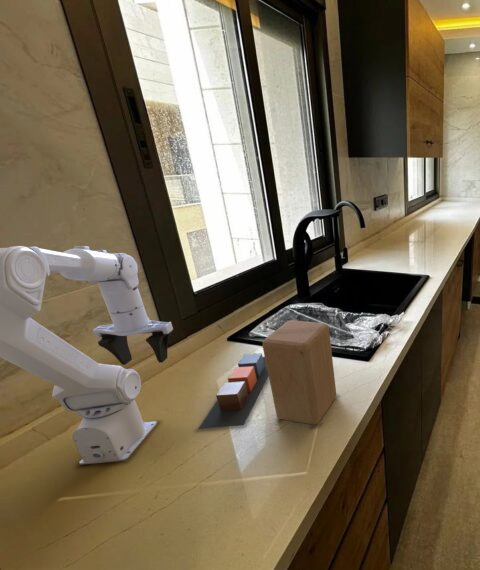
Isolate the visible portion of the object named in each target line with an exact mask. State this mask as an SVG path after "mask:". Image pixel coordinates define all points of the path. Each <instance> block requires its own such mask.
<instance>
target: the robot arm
mask: <svg viewBox="0 0 480 570" xmlns="http://www.w3.org/2000/svg"><path fill="white" fill-rule="evenodd" d="M138 270H139V267H138V262H137V261H136V260H135V258H134V257H133V256H131V255H129V254H127V253H125V252H117V253H116V252H115V253H110V252H108V251H107V250H106V249H96V250H91V249H90V246H86V245H74V248H69V249H66V250H64V251H62V252H61V251H56V250H51V249H45V248H40V247H38V246H23V245H14V246H9V247H0V359H2V360H5V361H7V362H8V363H10V364H13V365H14V366H16V367H19V368H20V369H22V370H24V371H26V372H28V373H30V374H32V375H34V376H36V377H38V378H40V379H41V380H44V381H46V382H48V383H50V384H52V385H54V386H53V387H52V394H51V398H53V399H55V400H57V401H58V402H59V403H60V405H61V407H62V408H63V409H64V410H66V411H67V412H75V414H76V416H77V417H82V419H81V422H80V424H79V425H78V426H77V428H76V429H75V431H73V433H72V438H71V439H72V442H73V443H74V445H75V448H76V450H77V451H78V454H79V455H80V457H81V460H79V465H90V464H102V463H112V462H123V461H126V460H127V459H129V458H130V457H131V455H132V454H133V453H134V451H135V450H136V449H137V448H138V447H139V446H140V445H141V444H142V442H143V441H144V440H145V438H147V436H148V435H149V434H150V432H152V430H153V429H154V428H155V427H156V426H157V424H158V422H157V421H144V420H143V416H142V414H141V412H140V409H139V407H138V405H137V402H136V398H137V397H138V396H139V394H140V391H141V388H142V380H141V376H140V375H139V373H138V372H137V370H135V369H133V368H125V367H123V366H125V365H127V364H129V363H130V362H131V361H132V360H133V358H132V353H131V350H130V348H129V343H128V336H134V335H142V334H143V335H144V334H151V335H149V336H148V337H147V338H145V342H146V343H147V344H149V346H150V348H151V349H152V350H153V352H154V355H155V358H156V360H157V361H158V363H164V362H165V361H166V360H167V359H168V357H169V356H168V350H169V349H168V348H169V343H170V337H171V335H172V332H173V331H174V327H173V323H172V321H159V320H150V317H148V314H147V312H146V308H145V305H144V302H143V299H142V295H141V293H140V289H139V288H138V285H140V284H139V282H140V280H139V277H138V272H139V271H138ZM51 273H58V274H60V275H61V276H62V277H63V278H66V279H68V280H71V281H81V282H83V281H84V282H85V281H86V282H90V283H91V284H96V283H97V286H98V289H99V291H100V295H101V296H102V299H103V301H104V304H105V307H106V310H107V311H108V315H109V317H110V319H111V322H112V323H111V324H102V325H98V326H96V327H95V328H93V329H92V332H93V334H94V336H95V337H94V338H101V339H100V340H99V341H97V344H98V346H100V347H102V348H103V349H105V350H107V351H108V352H109V353H111V354H112V355H113V357H115V358H116V360H117V361H118V362H119V363H120V364H121V365H122V366H121V365H115V364H105V363H99V362H97V361H95V360H94V359H92V358H91V357H90V356H88V355H87V354H85V353H83V351H81V350H79V349H78V348H76V347H74V346H73V345H72V344H70V343H68V341H66V340H64V339H63V338H61V337H60V336H58V335H57V334H55V333H54V332H52V331H51V330H50V329H48V328H46V327H45V326H44V325H42V324H40V323H39V322H37V321H36V320H35V319H33V318H31V317H33V316H34V315H36V314H37V313H39V312H40V311H41V309H42V303H43V297H44V292H45V285H46V279H47V278H46V277H49V276H50V275H51Z"/></svg>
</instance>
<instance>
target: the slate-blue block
mask: <svg viewBox="0 0 480 570" xmlns="http://www.w3.org/2000/svg"><path fill="white" fill-rule="evenodd" d="M263 357H264V355H263V353H261V352H260V353H259V352H258V353H245V354H244V355H243V356H242V357H241V359H240V360H239V362H238V363H237V367H251V366H254V369H255V374H256V377H259V376H260V375H261V373H262V371H263V369H264V367H265V366H264V361H263Z"/></svg>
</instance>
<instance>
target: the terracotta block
mask: <svg viewBox="0 0 480 570" xmlns="http://www.w3.org/2000/svg"><path fill="white" fill-rule="evenodd" d="M243 381H245V384H246V388H247V392H251V391H252V389H253V387H254V385H255V383H256V382H257V378H256V374H255V369H254V366H251V367H238V366H237V367H234V369H233V370H232V371H231V373H230V375H229V376H228V377H227V383H229V382H243Z"/></svg>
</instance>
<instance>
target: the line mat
mask: <svg viewBox="0 0 480 570" xmlns="http://www.w3.org/2000/svg"><path fill="white" fill-rule="evenodd" d="M263 361H264V366H265V367H264V369H263V371H262V373H261V375H260V376H259V377H256V378H257V382H256V383H255V385H254V387H253V389H252V391H251V392H247V393H248V398H247V400H246V402H245V404H244V405H243V407H242V409H241V410H230V411H220V408H219V404H218V401H217V400H216V402H215V404H214V405H213V406H212V407H211V409H210V410H209V412H208V414H207V415H206V417H205V418H204V420H203V421H202V423H201V424H200V426H199V427H198V430H203V429H213V428H226V427H238V426H244V425H245V424H246V422H247V420H248V418H249V416H250V414H251V412H252V410H253V408H254V406H255V405H256V402H257V400H258V398H259V396H260V395H261V392H262V390H263V389H264V387H265V385H266V383H267V381H268V380H269V375H268V370H267V365H266V361H265V356H263Z"/></svg>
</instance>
